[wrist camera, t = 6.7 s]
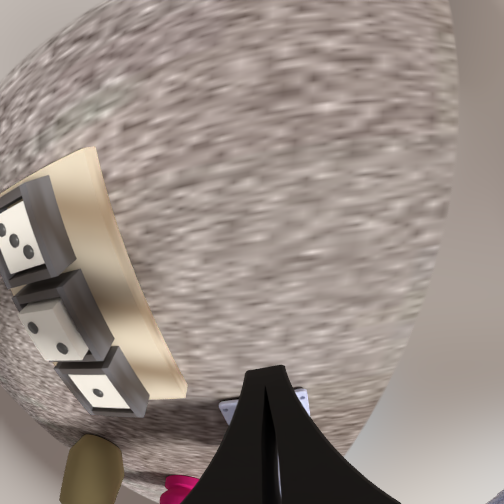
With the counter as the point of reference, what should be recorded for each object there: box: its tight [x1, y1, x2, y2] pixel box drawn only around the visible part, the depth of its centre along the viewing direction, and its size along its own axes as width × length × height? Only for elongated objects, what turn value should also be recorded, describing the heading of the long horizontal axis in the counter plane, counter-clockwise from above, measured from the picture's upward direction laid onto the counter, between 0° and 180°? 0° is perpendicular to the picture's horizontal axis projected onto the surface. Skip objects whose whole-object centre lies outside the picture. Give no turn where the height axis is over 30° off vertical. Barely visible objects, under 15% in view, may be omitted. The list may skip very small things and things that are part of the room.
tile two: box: [17, 297, 89, 361], centre depth 15 cm, size 4×4×2 cm
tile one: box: [68, 374, 130, 408], centre depth 19 cm, size 4×4×2 cm
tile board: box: [0, 147, 188, 417], centre depth 17 cm, size 20×12×4 cm, turn 12°
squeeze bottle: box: [59, 434, 124, 504], centre depth 19 cm, size 8×8×18 cm
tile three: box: [0, 201, 45, 274], centre depth 14 cm, size 4×4×2 cm
